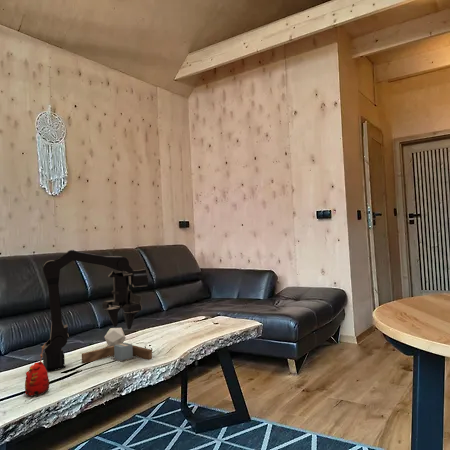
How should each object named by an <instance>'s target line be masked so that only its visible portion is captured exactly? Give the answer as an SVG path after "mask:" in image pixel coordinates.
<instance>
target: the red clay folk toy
mask: <svg viewBox="0 0 450 450" xmlns="http://www.w3.org/2000/svg"><path fill="white" fill-rule="evenodd" d="M45 344H46V342H45V343H44V344H43V345H41V346H39V347H40V348H41V353H40V360H39V361H38V362H34V364H32V365H31V366H30V367H29V369H28V370H27V371H26V372H25V379H24V380H25V381H24V389H25V390H24V391H25V395H26V396H28V397H34V396H38V395H39V396H41V395H43V394H44V393H46V392H47V391H49V388H50V379H49V374H48V371H47V370H46V368H45V366H44V365H43V361H42V359H43V352H44V348H45V347H44V346H45ZM46 347H47V346H46Z"/></svg>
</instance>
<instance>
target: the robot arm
mask: <svg viewBox="0 0 450 450" xmlns="http://www.w3.org/2000/svg"><path fill="white" fill-rule="evenodd" d="M73 261H75V262H82V263H87V264H92V265H99V266H104V267H107V268H110V269H113V270H111V273H109V274H108V278H112V279H113V290H112V291H111V295H113V299H111V300H110V299H109V300H104V301H103V303H102V304H101V305H102V306H101V307H102V309H104V311H105V313H106V314H107V316H108V318H109V319H110V321H111V323H112V326H113V328H117V327H118V319H119V318H118V317H119V311H120V309H122V310H123V311H124V312H123V313H122V314H123V318H124V321H125V325H126V328H127V330H128V331H129V330H131V329H132V326H133V322H134V319H135V317H136V316H137V314H138V313H140V311H143V305H142V304H141V301H142V295H141V296H140V295H138V294H134V293H133V291H132V290H131V289H130V287H129V285H131V286H132V287H133V288H137V287H139V288H141V287H148V286H149V277H148V273H147V269H145V268H144V269H143V268H142V269H137V270H134V269H133V268H132V267H131V266H130V261H129V260H128V258H127V257H125V256H122V255H120V256H119V255H114V256H113V255H100V254H94V253H89V252H83V251H76V250H74V249H70V250H67V252H66V253H64V254H62V255H60V256H59V257H57V258H56V259H54V260H53V259H52V260H51V259H50V260H47V261H46V262H45V263H44V264H43V267H42V268H43V269H42V270H43V271H42V272H43V274H44V278H45V281H46V284H47V286H48V297H49V308H50V309H49V310H50V317H51V325H50V336H49V339H48V340H47V341H46V342H45V343H46V344H45V343H44V344H45V346H44V347H45V348H44V349H43V353H42V355H43V357H42V363H43V365H44V366H45V368H46V370H47V373H48V372H53V371H57V370H60V369H64V368H67V367H66V365H65V364H66V363H65V353H64V350H63V348H64V347H65V346H66V344H67V343H68V339H70V337H69V333H68V332H69V327H68V324H67V323H66V324H64V323H63V316H62V308H61V297H60V287H59V283H60V273H61V269H63V268H64V267H66V266H67V265H68V264H71V262H73ZM115 271H119V272H115ZM123 272H124V273H126V274H124V273H123ZM46 346H47V347H46Z"/></svg>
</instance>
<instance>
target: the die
mask: <svg viewBox="0 0 450 450" xmlns="http://www.w3.org/2000/svg"><path fill="white" fill-rule="evenodd" d="M126 339H127V338H126V335H125V332H124V331H123V328H122V327H111V328H109V330H108V331H107V332H106V334H105V335H104V340H105V342H106V344H107V347H110V346H114V345H118V344H122V343H125V340H126Z"/></svg>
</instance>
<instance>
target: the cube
mask: <svg viewBox="0 0 450 450" xmlns="http://www.w3.org/2000/svg"><path fill="white" fill-rule="evenodd" d="M132 345H133V344H131V343H127V342H123V343H122V344H118V345H114V355H113V356H114V358H115V359H119V360H125V359H129V358H132V357H133V347H132Z"/></svg>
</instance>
